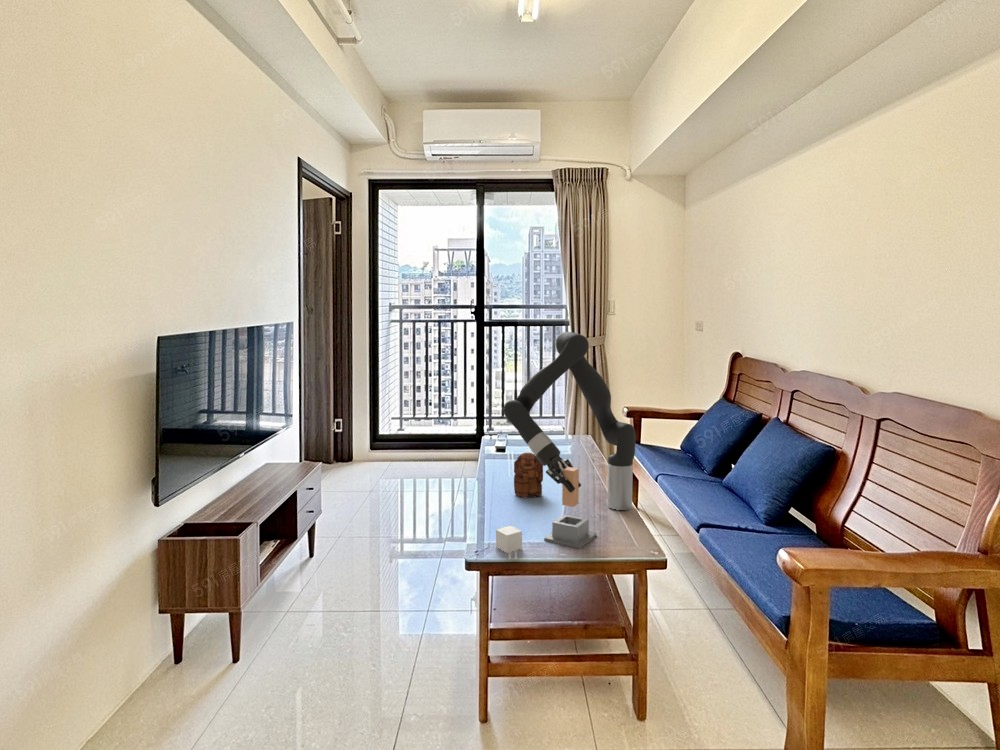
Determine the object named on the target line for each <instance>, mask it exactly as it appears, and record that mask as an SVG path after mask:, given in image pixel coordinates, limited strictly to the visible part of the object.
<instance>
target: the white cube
mask: <svg viewBox="0 0 1000 750" xmlns="http://www.w3.org/2000/svg"><path fill="white" fill-rule="evenodd" d="M496 547H497V549H498V548H499V549H498V550H500V549H501V550H500V551H501V552H503V551H504V552H503V553H505V552H506V553H505V554H509V553H508V552H510V553H512V552H511V551H514V552H516V551H515V550H517V551H519V550H518V549H520V550H522V549H523V531H522V530H521V529H519V528H517V527H514V526H513V525H509V526H505V527H501V528H500V527H499V528H498V529H495V548H496ZM521 548H522V549H521Z"/></svg>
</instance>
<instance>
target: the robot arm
mask: <svg viewBox="0 0 1000 750" xmlns="http://www.w3.org/2000/svg"><path fill="white" fill-rule="evenodd" d="M589 343H590V342H589V341H588V339H587V337H586V336H584V335H583V334H580V333H576V332H572V331H563V332H561V333H559V334H558V335H557V338H556V340H555V348H556V351H557V353H558V356H557V357H556V358H554V360H553V361H552V362H551V363H549V364H547V365H546V366H544V367H543V368H541V369H540V370H538V371H537V372H536V373H534V374H533V375H532V376H531V377H530V378H529V380H528V381H527V382H526V383H525V384H524V386H522V387H521V389H520V392H519V395H518V396H517V397H516V398H515V399H511V400H508V401H506V403H505V404H504V405H503V414H504V416H505V418H506V420H507V421H508V422H509V423H511V424H512V426H513V427H514V428H515V429H516V430H517V432H518V433H519V435H520V437H521V438H522V440H523V441H524V442H525V443H526V444H527V446H528V448H529V449H530V450H531V453H532V454H534V455H535V456H536V457H537V459H538V460H539V461H540V462H541V464H542V465H543V467H547V470H545V473H546V474H547V476H549V477H550V478H551V479H552V480H553V481H554V482H555V483H556V484H558V485H559V484H561V485H562V484H564V486H565V487H566V488H567V489H568V491H569V492H570V493H571V492H573V491H574V490H575V487H574V486H573V485H572V484H571V482H570V481H569V480H568V479H567V477H566V476H565V472H564V471H563V469H565V468H567V467H572V468H574V466H573V464H572V463H571V461H570V459H568V458H566V459H563V458H562V457H561V456H560V455H561V450H560V449H559V448H558V447H557V446H556V444H555V443H554V442H553V440H552V439H551V438H550V437H549V435H547V434H546V433H545V432H544V431H543V429H542V428H541V426H539V425H538V423H537V422H536V421H535V420H534V419H533V418H532V415H531V414H530V412H531V410H532V409H533V407H534V406H535V404H537V402H538V401H539V400H540V399H541V398H542V397H543V395H544V394H545V393H546V392H547V391H548V390H549V389H550V387H551V386H552V385H553V384H554V383H556V381H557V380H558V379H559V378H561V376H563V375H564V374H565V373H566V372H567V371H569V370H570V372H571V374H572V376H573V378H574V380H575V382H576V383H577V385H578V388H579V389H580V392H581V393H582V395H583V397H584V399H585V400H586V402H587V404H588V406H589V407H590V409H591V412H592V413H593V415H594V417H595V419H596V420H597V424H598V425H599V428H600V430H601V433H602V435H603V437H604V439H605V441H606V442H607V443H608V444H610V445H611V446H612V445H613V446H616V451H615V453H613V454H610V455H609V456H608V459H607V462H608V463H607V507H608V509H610V508H612V509H611V510H613V509H616V510H615V511H619V510H625V511H630V510H631V509H632V507H633V467H634V466H633V465H634V464H633V463H634V458H635V455H636V444H637V443H636V441H637V439H636V438H637V436H636V435H637V434H636V429H635V427H634V426H633V425H632V424H630V423H625V422H621V421H618V420H617V418H616V417H615V415H614V413H613V411H612V409H611V404H612V403H611V402H612V394H611V391H610V389H609V388H608V386H607V384H606V381H605V380H604V378H603V377H602V376H601V375H600V373H599V372H598V371H597V370H596V369H595V368H594V366H592V364H590V362H589V361H588V359H586V357H585V355H586V354H587V353H588V351H589V349H590V348H589V347H590V345H589ZM562 476H563V477H562ZM580 487H582V484H581V482H579V488H580ZM629 509H630V510H629Z"/></svg>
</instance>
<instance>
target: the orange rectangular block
mask: <svg viewBox="0 0 1000 750" xmlns="http://www.w3.org/2000/svg"><path fill="white" fill-rule="evenodd" d="M563 471H564V472H565V476H566V477H567V479H568V480H569V481H570V482H571V484H572V485H573V486H574V487H575V490H574V491H573V492H571V493H570V492H569V491H568V489H567V488H566V487H565V486H564V484H561V485H562V490H561V495H562V497H561V498H562V499H561V500H562V505H561V506H566V507H569V508H571V507H572V508H574V507H576V506H577V505H579V501H580V500H579V499H580V498H579V496H580V495H579V492H580V491H579V490H580V489H579V488H580V487H579V483H580V478H579V477H580V475H579V474H580V469H579V468H577V467H573V468H572V467H567V468H565V469H563ZM562 477H563V476H562Z"/></svg>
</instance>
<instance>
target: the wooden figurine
mask: <svg viewBox="0 0 1000 750" xmlns="http://www.w3.org/2000/svg"><path fill="white" fill-rule="evenodd" d="M513 472H514V476H513V487H514V489H513V490H514V495H515V494H516V495H517V497H518V496H521V497H520V498H522V497H527V498H536V497H542V496H543V485H542V482H544V481H543V480H544V466H543V465H542V464H541V462H540V461H539V460H538V459H537V457H536V456H535V455H534V453H533V452H523V453H521V454H519V455H518V456H517V458H516V459H515V461H514V462H513ZM516 495H515V496H516ZM535 496H536V497H535Z"/></svg>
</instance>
